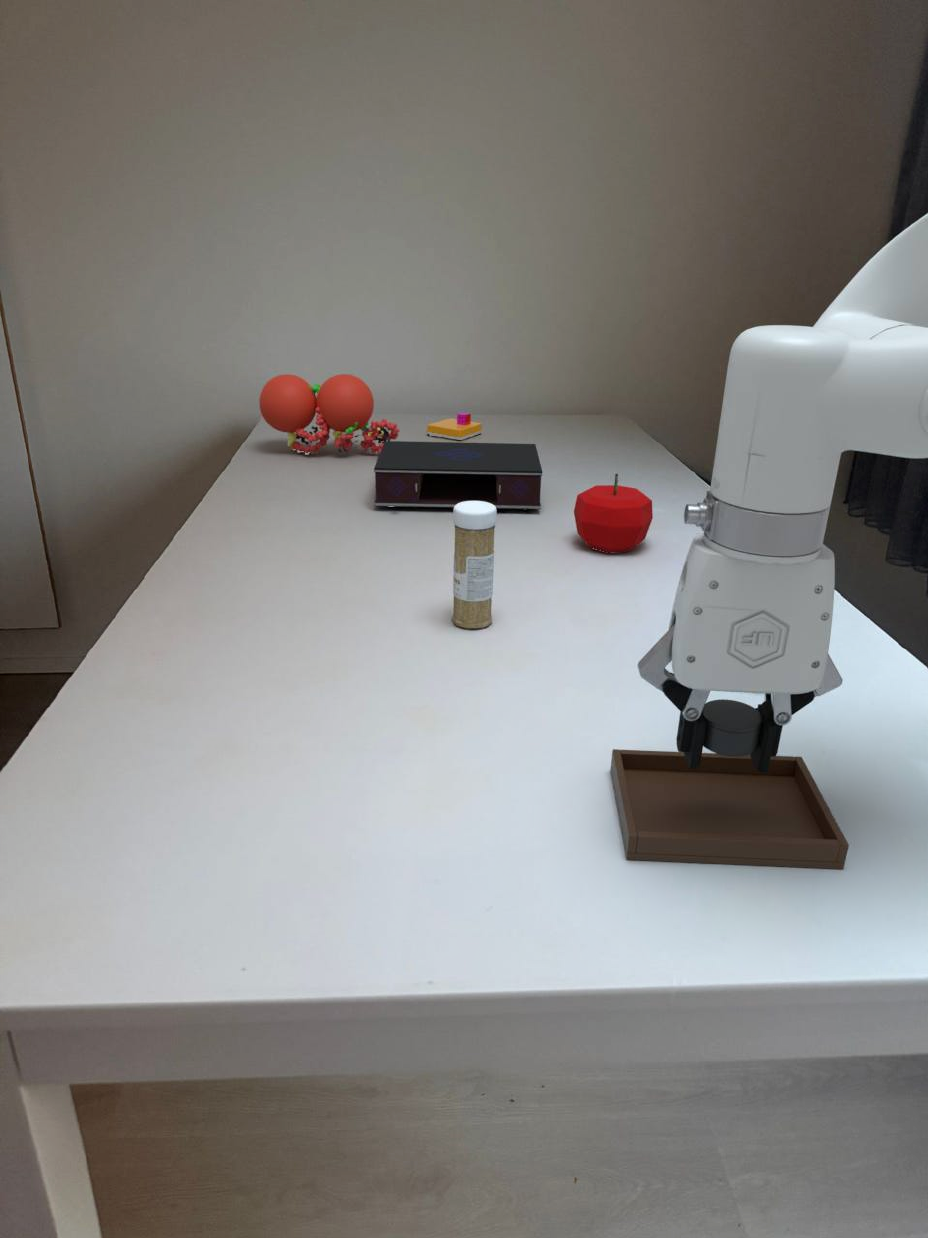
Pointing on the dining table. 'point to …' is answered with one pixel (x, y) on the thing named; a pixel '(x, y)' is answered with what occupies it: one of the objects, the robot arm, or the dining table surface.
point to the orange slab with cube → (455, 426)
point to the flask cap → (731, 727)
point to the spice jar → (473, 563)
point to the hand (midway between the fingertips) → (724, 758)
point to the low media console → (458, 474)
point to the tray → (723, 811)
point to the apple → (613, 517)
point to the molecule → (323, 412)
